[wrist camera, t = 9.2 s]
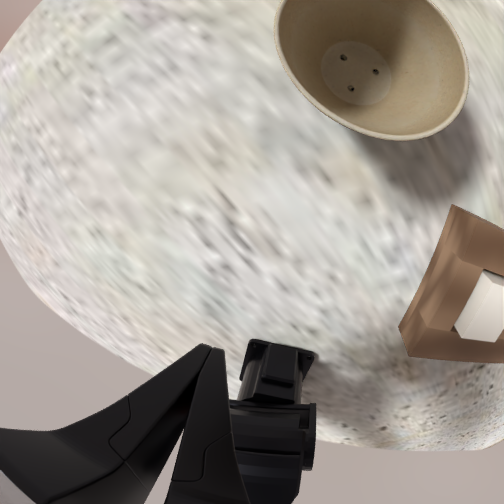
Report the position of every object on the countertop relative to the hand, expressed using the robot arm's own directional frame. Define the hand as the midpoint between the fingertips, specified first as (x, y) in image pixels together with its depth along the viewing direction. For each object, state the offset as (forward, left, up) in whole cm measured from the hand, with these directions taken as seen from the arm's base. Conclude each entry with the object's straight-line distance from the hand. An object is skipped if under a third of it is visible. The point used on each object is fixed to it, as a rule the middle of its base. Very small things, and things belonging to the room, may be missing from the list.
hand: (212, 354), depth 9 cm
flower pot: (+13, -4, -13) cm, 19 cm away
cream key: (0, -20, -11) cm, 22 cm away
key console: (0, -24, -13) cm, 27 cm away
